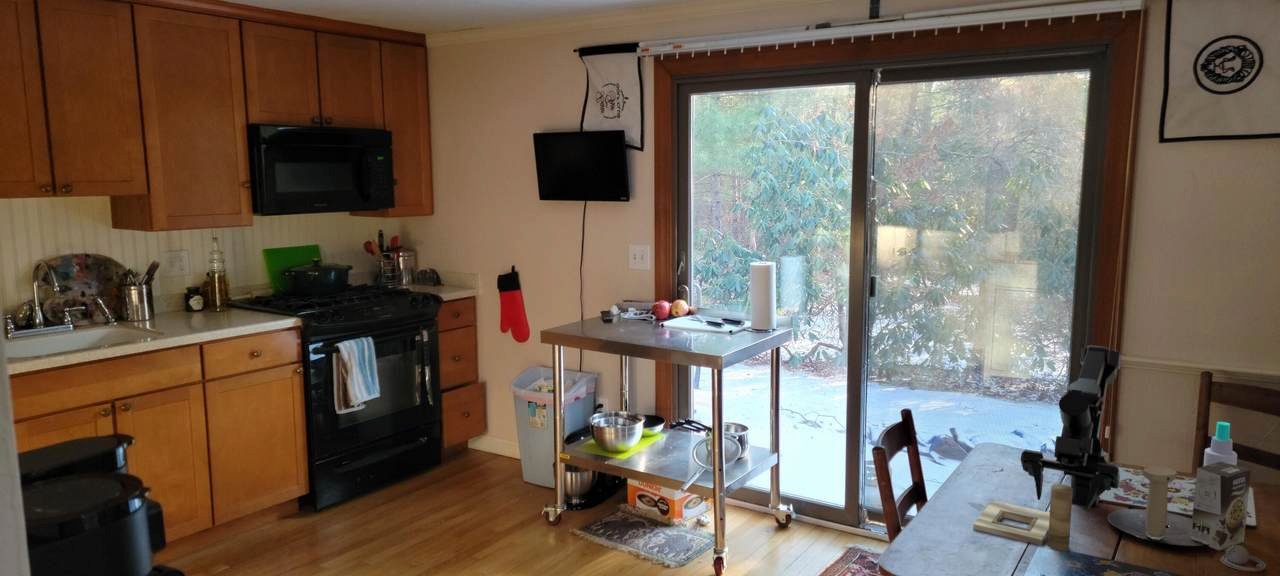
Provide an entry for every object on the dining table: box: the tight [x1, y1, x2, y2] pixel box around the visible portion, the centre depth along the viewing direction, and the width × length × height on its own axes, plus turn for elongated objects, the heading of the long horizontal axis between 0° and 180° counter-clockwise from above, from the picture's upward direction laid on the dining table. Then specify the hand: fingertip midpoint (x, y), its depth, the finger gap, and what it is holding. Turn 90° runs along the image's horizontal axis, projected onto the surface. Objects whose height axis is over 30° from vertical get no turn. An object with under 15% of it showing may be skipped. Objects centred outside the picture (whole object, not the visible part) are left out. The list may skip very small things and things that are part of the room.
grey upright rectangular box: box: [1190, 462, 1252, 551], centre depth 183 cm, size 9×6×16 cm
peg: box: [1047, 483, 1073, 552], centre depth 181 cm, size 4×4×13 cm
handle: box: [1142, 466, 1178, 537], centre depth 185 cm, size 5×6×15 cm
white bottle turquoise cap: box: [1203, 421, 1238, 466], centre depth 195 cm, size 6×6×22 cm
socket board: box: [972, 500, 1050, 546], centre depth 194 cm, size 16×14×1 cm
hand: (1062, 504), depth 182 cm, fingers open, 9 cm apart
